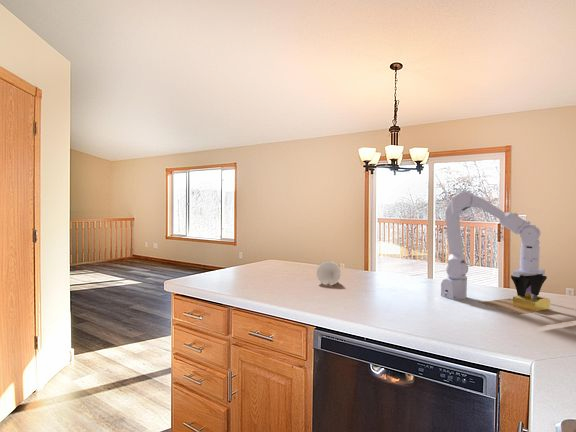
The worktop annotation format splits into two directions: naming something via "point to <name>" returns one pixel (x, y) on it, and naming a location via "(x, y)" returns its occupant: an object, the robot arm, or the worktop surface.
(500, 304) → the board
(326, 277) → the grey rounded lump
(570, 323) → the worktop surface
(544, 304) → the golden square frame
